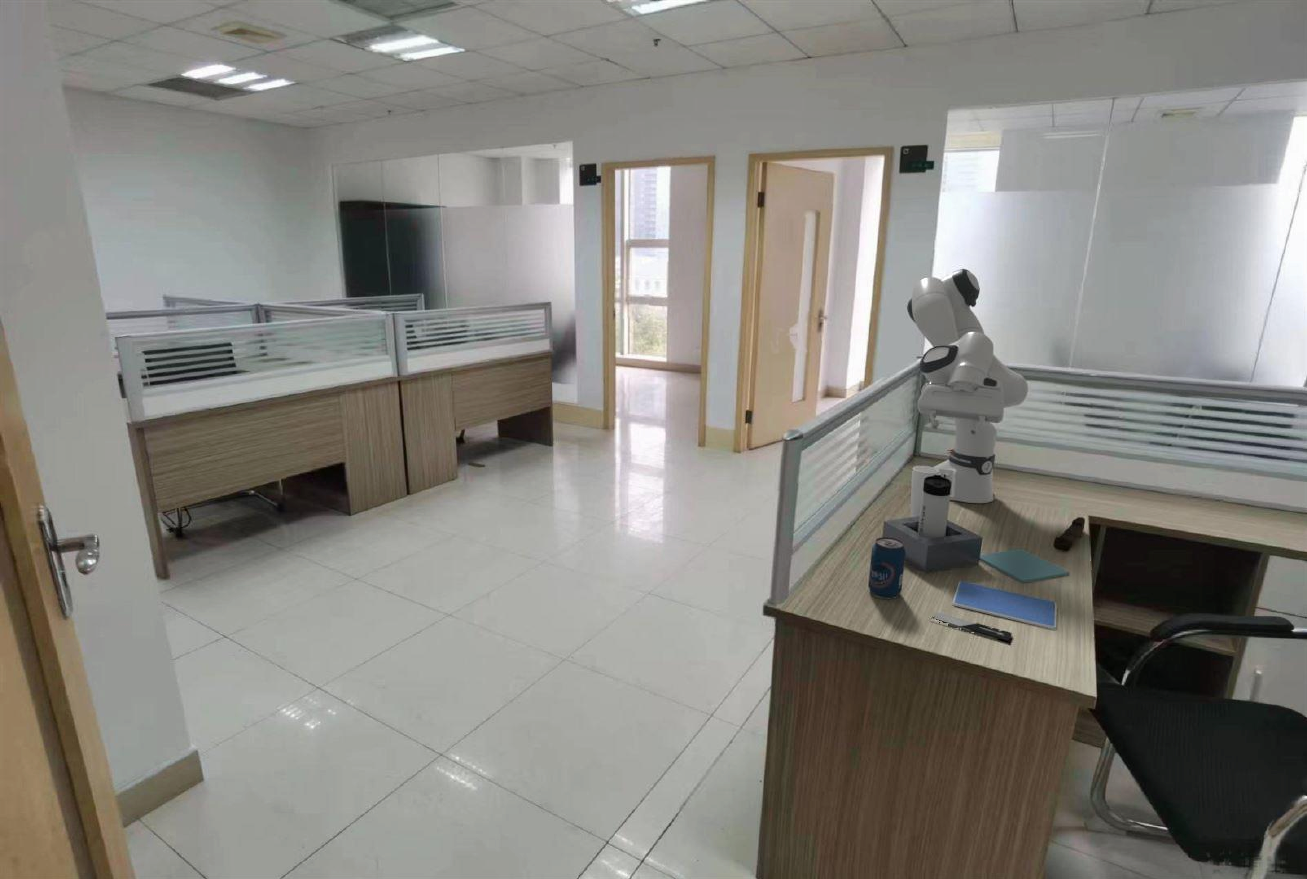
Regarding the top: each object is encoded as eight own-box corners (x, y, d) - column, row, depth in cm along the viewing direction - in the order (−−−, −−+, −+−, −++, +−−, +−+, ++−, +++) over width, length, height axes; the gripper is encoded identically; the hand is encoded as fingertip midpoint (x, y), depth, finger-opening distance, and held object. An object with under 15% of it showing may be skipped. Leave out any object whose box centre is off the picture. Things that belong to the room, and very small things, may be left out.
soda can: (862, 593, 149) (867, 542, 146) (875, 582, 154) (880, 533, 151) (893, 603, 145) (899, 551, 142) (905, 591, 150) (911, 541, 147)
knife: (930, 618, 138) (935, 610, 141) (929, 623, 138) (934, 614, 141) (1010, 642, 130) (1014, 633, 133) (1010, 647, 130) (1013, 638, 133)
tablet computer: (1056, 606, 146) (1057, 600, 145) (1055, 633, 135) (1057, 627, 135) (958, 584, 155) (959, 579, 155) (951, 608, 144) (951, 602, 144)
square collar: (881, 546, 174) (883, 521, 172) (932, 538, 179) (935, 513, 177) (924, 573, 159) (927, 545, 157) (978, 564, 164) (982, 537, 162)
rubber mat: (976, 558, 167) (976, 555, 167) (1020, 550, 172) (1020, 548, 172) (1022, 583, 155) (1023, 580, 155) (1069, 574, 159) (1069, 572, 159)
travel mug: (941, 551, 171) (951, 476, 166) (943, 562, 165) (953, 484, 160) (914, 548, 173) (923, 473, 168) (915, 558, 167) (924, 481, 162)
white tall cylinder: (933, 518, 193) (939, 467, 189) (932, 526, 187) (938, 474, 183) (908, 514, 196) (914, 464, 192) (906, 522, 190) (911, 470, 186)
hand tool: (1069, 554, 171) (1072, 537, 169) (1051, 549, 173) (1055, 532, 172) (1091, 534, 183) (1095, 518, 182) (1075, 530, 186) (1078, 514, 185)
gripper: (922, 374, 180) (909, 417, 174) (1009, 382, 169) (997, 429, 163) (925, 388, 184) (912, 431, 179) (1009, 397, 173) (997, 443, 168)
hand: (953, 430), depth 171 cm, fingers open, 8 cm apart
